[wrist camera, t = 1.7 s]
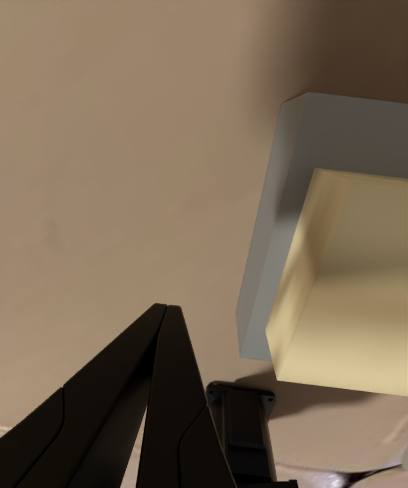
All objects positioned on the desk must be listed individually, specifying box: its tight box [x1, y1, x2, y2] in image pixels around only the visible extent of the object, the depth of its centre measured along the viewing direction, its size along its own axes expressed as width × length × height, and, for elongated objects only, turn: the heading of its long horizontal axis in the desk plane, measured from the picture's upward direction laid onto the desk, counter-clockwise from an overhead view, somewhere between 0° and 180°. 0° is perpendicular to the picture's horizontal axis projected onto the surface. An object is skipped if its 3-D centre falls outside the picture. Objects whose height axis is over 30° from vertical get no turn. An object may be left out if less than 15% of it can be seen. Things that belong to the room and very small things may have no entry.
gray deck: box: [236, 92, 408, 362], centre depth 13 cm, size 14×16×4 cm
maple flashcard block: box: [265, 168, 408, 396], centre depth 10 cm, size 9×6×3 cm, turn 174°
